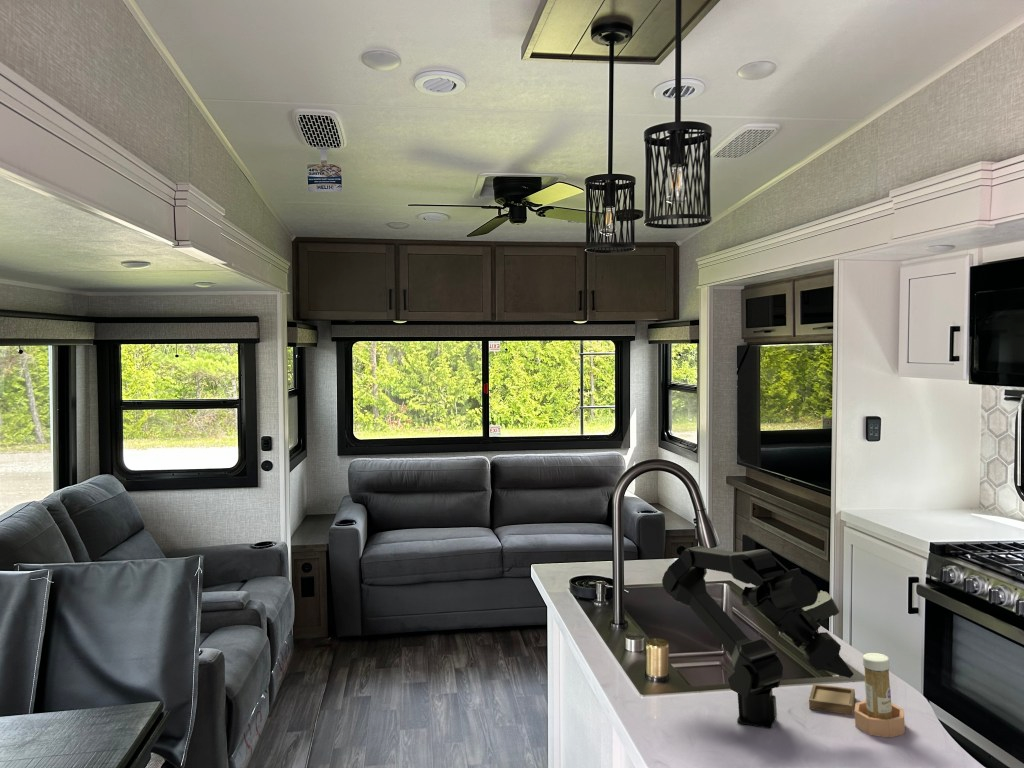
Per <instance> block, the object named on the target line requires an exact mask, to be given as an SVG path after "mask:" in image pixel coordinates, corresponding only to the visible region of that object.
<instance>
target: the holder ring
mask: <svg viewBox="0 0 1024 768" xmlns="http://www.w3.org/2000/svg"><path fill="white" fill-rule="evenodd" d="M891 706H892V710H891V713H892V719H888V720H886V719H879V718H872V717H869V716H868V713H867V706H866V700H862V701H858V702H855V703H854V724H855V727H856V728H858V729H860V730H861V731H863V733H865V734H868V735H869V736H870V735H871V736H877V737H884V738H893V737H894V738H895V737H897V736H901V735H905V734H906V724H905V723H906V722H905V710H904V709H903V708H901V707H900V706H898V705H896V704H894V703H892V702H891Z"/></svg>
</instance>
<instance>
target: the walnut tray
mask: <svg viewBox="0 0 1024 768" xmlns="http://www.w3.org/2000/svg"><path fill="white" fill-rule="evenodd" d="M812 684H813V685H812V688H811V691H810V695H809V699H808V705H809V710H811V709H812V710H817V711H824V712H831V713H839V714H844V715H851V716H852V715H853V714H854V709H855V703H856V702H855V700H856V690H855V688H851V687H850V688H848V687H841V686H832V685H827V684H826V685H825V684H817V683H812Z"/></svg>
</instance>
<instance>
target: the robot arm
mask: <svg viewBox="0 0 1024 768" xmlns="http://www.w3.org/2000/svg"><path fill="white" fill-rule="evenodd" d="M707 570H712V571H716V572H721V573H726V574H730V575H731V576H732V578H733V579H735V580H736V581H739V582H741V583H743V584H745V585H746V584H747V585H750V584H751V585H753V586H750V587H749V586H745V587H744V588H743V590H742V592H741V598H742V599H741V601H742V602H741V605H742V607H746V606H749V605H750V606H752V608H753V609H755V610H756V611H757V612H758V613H759V614H760V615H762V616H763V617H764V618H765V619H767V620H768V622H770V623H771V624H772V625H773V626H774V627H775V628H776V630H778V632H779V633H781V634H784V636H786V637H787V638H788V639H789V640H790V641H791V642H792V644H794V646H796V647H797V648H798V649H799V648H800V647H801V646H803V647H804V649H803V657H804V659H805V660H806V661H807V662H808V664H809V665H810V666H811V667H812V668H813V669H815V670H816V671H826V672H829V673H832V674H835V675H838V676H842V677H845V678H848V679H850V678H852V677H853V676H854V672H853V671H852V669H851V668H850V667H849V666H848V664H847V663H846V662H845V661H844V659H843V658H842V657H841V656H840V651H841V647H842V645H841V644H840V643H839V642H838V641H837V639H835V638H834V637H833V636H831V634H830V633H829V632H828V631H827V632H824V631H823V632H819V628H821V624H820V622H823V621H824V620H826V619H829V618H831V617H833V616H834V617H835V616H837V615H838V614H839V613H840V609H839V608H838V606H837V604H836V603H835V600H834V599H833V596H831V595H830V594H829V593H828V592H827V591H823V590H822V589H821V590H820V591H818V588H817V585H816V583H814V582H813V580H812V579H811V578H810V577H809V576H807V575H806V574H802V571H801V568H799V567H797V568H792V569H790V570H789V568H787V567H786V566H785V565H784V564H782V563H781V562H780V561H779V559H777V558H776V557H775V556H774V555H772V551H770V550H768V549H767V548H766V549H765V548H763V549H761V548H760V549H754V550H745V551H740V552H739V551H738V552H737V551H731V550H725V549H716V548H710V547H705V546H703V545H699V546H698V545H697V546H694V547H688V548H685V549H684V550H683V551H682V552H681V553H680V556H679V557H678V558H676V559H675V561H673V563H671V564H670V565H669V566H668V567H667V570H665V572H664V573H663V577H662V580H661V583H662V584H661V585H662V587H663V589H664V591H665V592H666V593H667V594H668V595H669V597H671V598H672V599H673V600H674V601H676V602H677V603H680V604H682V605H685V606H687V607H689V608H690V609H691V610H692V611H693V613H694V614H695V615H696V616H697V617H698V618H699V619H700V621H701V622H702V623H703V625H705V627H706V628H707V629H708V630H709V631H710V632H711V634H712V635H713V636H714V637H715V638H716V640H717V641H718V642H719V643H720V644H721V645H722V646H723V648H725V650H726V651H727V652H728V653H729V654H730V656H731V662H732V669H733V671H734V672H733V673H731V675H730V676H728V678H727V681H728V684H729V688H730V690H731V691H733V692H735V693H736V694H737V703H738V704H737V705H738V717H737V719H736V723H737V724H740V725H741V724H742V725H747V726H754V727H760V728H764V729H765V728H767V729H771V728H772V727H773V723H774V722H775V721H776V718H777V716H778V713H777V711H778V710H777V696H776V695H773V689H775V688H776V689H777V688H779V687H780V684H781V680H782V678H783V671H784V670H783V669H784V666H783V663H782V661H781V659H780V658H779V657H778V656H777V654H778V652H777V651H775V650H774V649H773V648H772V647H771V646H770V645H769V643H768V642H767V641H766V640H765V639H763V638H759V639H756V640H752V639H751V638H749V637H748V636H747V635H746V634H745V633H744V631H743V630H742V629H741V628H740V627H739V626H738V625H737V624H736V623H735V621H734V620H733V619H732V618H731V617H730V616H729V615H728V614H727V612H726V611H725V610H724V609H723V608H722V607H721V606H720V605H719V604H718V603H717V601H716V600H715V599H714V598H713V597H712V596H711V595H710V593H709V592H708V591H707V582H706V579H705V577H706V575H707V573H708V572H707Z"/></svg>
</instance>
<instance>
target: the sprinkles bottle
mask: <svg viewBox="0 0 1024 768" xmlns="http://www.w3.org/2000/svg"><path fill="white" fill-rule="evenodd" d="M862 665H863V667H864V668H863V669H864V687H865V688H864V689H865V701H866V706H867V713H868V716H869V717H872V718H879V719H886V720H888V719H892V713H891V710H892V706H891V703H892V693H891V683H890V672H889V671H890V667H891V666H890V658H889V656H887V655H885V654H883V653H878V652H867V653H864V654H863V656H862Z"/></svg>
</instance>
